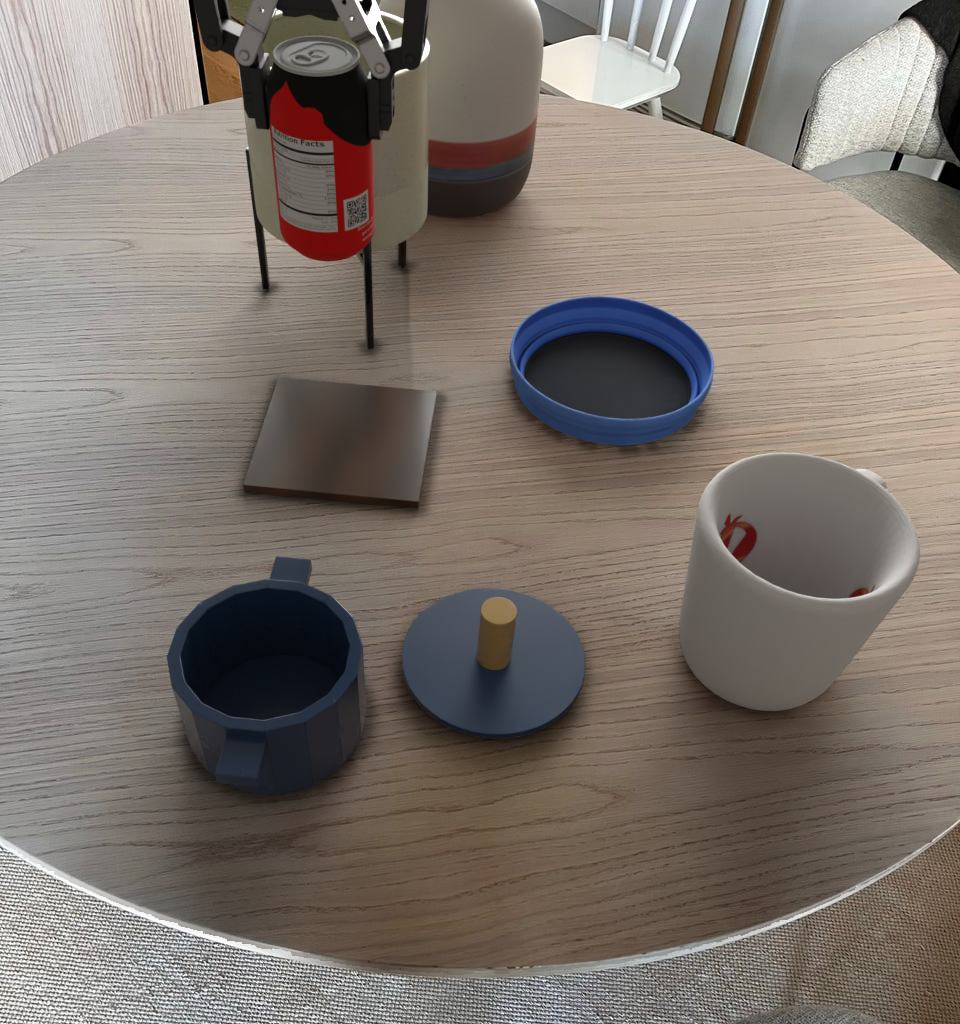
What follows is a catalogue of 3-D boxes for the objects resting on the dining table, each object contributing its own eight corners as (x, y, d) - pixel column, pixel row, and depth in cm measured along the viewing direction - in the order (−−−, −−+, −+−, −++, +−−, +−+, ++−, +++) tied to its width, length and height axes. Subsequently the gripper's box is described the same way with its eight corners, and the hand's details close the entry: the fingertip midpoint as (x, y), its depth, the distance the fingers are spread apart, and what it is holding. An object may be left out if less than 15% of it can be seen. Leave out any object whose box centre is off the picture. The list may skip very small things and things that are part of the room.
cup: (755, 528, 82) (808, 389, 71) (910, 619, 77) (992, 484, 66) (619, 660, 72) (656, 523, 62) (785, 773, 67) (857, 646, 57)
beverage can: (394, 245, 69) (392, 57, 60) (323, 279, 66) (310, 87, 57) (333, 208, 72) (322, 22, 62) (262, 240, 69) (239, 49, 59)
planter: (462, 295, 100) (474, 41, 82) (349, 367, 92) (335, 103, 74) (349, 236, 105) (338, -14, 87) (233, 299, 97) (194, 38, 79)
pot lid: (390, 734, 68) (388, 679, 63) (413, 590, 76) (413, 531, 71) (581, 753, 67) (595, 699, 63) (584, 607, 75) (596, 549, 71)
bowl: (725, 358, 96) (735, 326, 93) (676, 477, 85) (685, 444, 82) (546, 308, 99) (550, 275, 96) (476, 416, 88) (479, 382, 86)
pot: (156, 823, 63) (130, 759, 57) (221, 613, 73) (205, 541, 67) (343, 841, 62) (337, 779, 57) (381, 628, 73) (379, 558, 67)
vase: (503, 245, 106) (524, -10, 87) (352, 211, 108) (340, -43, 90) (547, 172, 116) (573, -71, 97) (408, 142, 118) (407, -99, 100)
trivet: (244, 492, 81) (242, 484, 80) (279, 383, 90) (278, 375, 89) (418, 509, 81) (418, 501, 80) (437, 398, 90) (437, 391, 89)
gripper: (451, -220, 52) (442, 113, 65) (174, -246, 52) (220, 91, 66) (435, -181, 48) (429, 169, 61) (131, -209, 48) (190, 146, 61)
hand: (320, 128), depth 63 cm, fingers closed on beverage can, 6 cm apart
